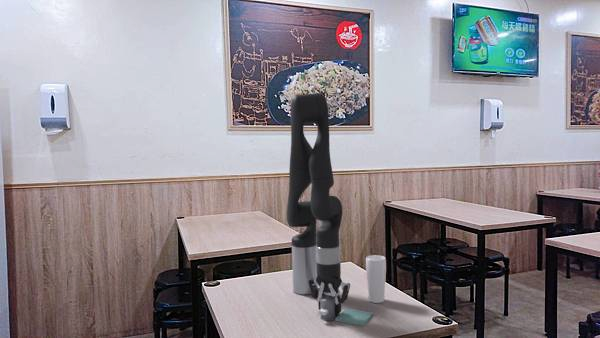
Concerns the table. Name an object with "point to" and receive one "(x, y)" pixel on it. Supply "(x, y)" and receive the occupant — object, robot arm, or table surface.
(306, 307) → the table surface
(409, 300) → the table surface
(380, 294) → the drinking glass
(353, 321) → the mat
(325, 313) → the grey lobed figure
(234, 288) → the table surface
